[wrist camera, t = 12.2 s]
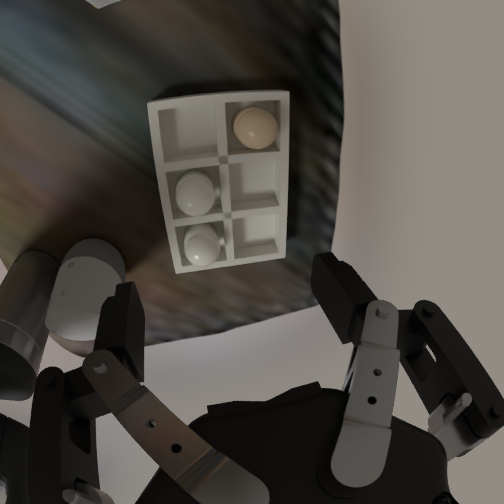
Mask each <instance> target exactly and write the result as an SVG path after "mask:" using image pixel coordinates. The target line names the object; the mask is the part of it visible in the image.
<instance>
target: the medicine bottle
mask: <svg viewBox="0 0 504 504" xmlns="http://www.w3.org/2000/svg"><path fill="white" fill-rule="evenodd" d="M86 1H87V2H89V3H90V4H92V5H93V6H94V7H96V8H102V7H104V6H107V5H110V4H112V3H115V2H118V1H121V0H86Z"/></svg>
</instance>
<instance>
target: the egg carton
mask: <svg viewBox="0 0 504 504" xmlns="http://www.w3.org/2000/svg"><path fill="white" fill-rule="evenodd" d="M245 106H256V107H259V108H261V109H263V110H265V111H267V112H269V113H270V114H271V115H272V116H273V117H274V118H275V120H276V122H277V125H278V133H277V136H276V138H275V140H274V141H273V142H272V143H271V144H270V145H269V146H267V147H265V148H262V149H252V148H249V147H247V146H245V145H244V144H242V143H241V142H240V140H239V139H238V138H237V137H236V135H235V134H234V133H233V131H232V127H231V122H232V118H233V116H234V114H235V113H236V112H237V111H238V110H239V109H240V108H242V107H245ZM147 107H148V116H149V124H150V132H151V140H152V147H153V154H154V161H155V168H156V174H157V180H158V186H159V192H160V198H161V203H162V209H163V214H164V219H165V224H166V230H167V235H168V239H169V244H170V249H171V254H172V258H173V263H174V267H175V271H176V274H178V273H185V272H192V271H198V270H205V269H212V268H219V267H226V266H233V265H239V264H246V263H253V262H259V261H266V260H273V259H279V258H285V251H286V229H287V203H288V170H289V91H284V90H246V91H228V92H215V93H204V94H194V95H186V96H178V97H171V98H164V99H158V100H152V101H150V102H148V103H147ZM193 168H197V169H201V170H204V171H205V172H207V173H208V174H209V176H210V177H211V180H212V183H213V187H214V191H215V201H214V204H213V206H212V208H211V209H210V210H209V211H208V212H207V213H205V214H203V215H201V216H189V215H187V214H185V213H183V212H182V211H181V210H180V209H179V207H178V205H177V203H176V183H177V180H178V178H179V176H180V175H181V174H182V173H183V172H184V171H186V170H189V169H193ZM207 222H211V223H212V224H213V225H214V226H215V228H216V230H217V235H218V239H219V244H220V254H219V256H218V258H217V260H216V261H215V262H214V263H213V264H211V265H209V266H206V267H199V266H196V265H193V264H192V263H191V262H190V261H189V260H188V259H187V257H186V255H185V250H184V231H185V229H186V227H187V226H188V225H192V224H199V223H207Z"/></svg>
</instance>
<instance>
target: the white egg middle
mask: <svg viewBox="0 0 504 504" xmlns="http://www.w3.org/2000/svg"><path fill="white" fill-rule="evenodd" d="M214 201H215V191H214V187H213V183H212V180H211V177H210V176H209V174H208V173H207V172H205V171H204V170H201V169H197V168H193V169H189V170H186V171H184V172H183V173H182V174H181V175H180V176H179V178H178V180H177V183H176V203H177V205H178V207H179V209H180V210H181V211H182V212H183V213H185V214H187V215H189V216H201V215H203V214H205V213H207V212H208V211H209V210H210V209H211V208H212V206H213V204H214Z"/></svg>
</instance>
